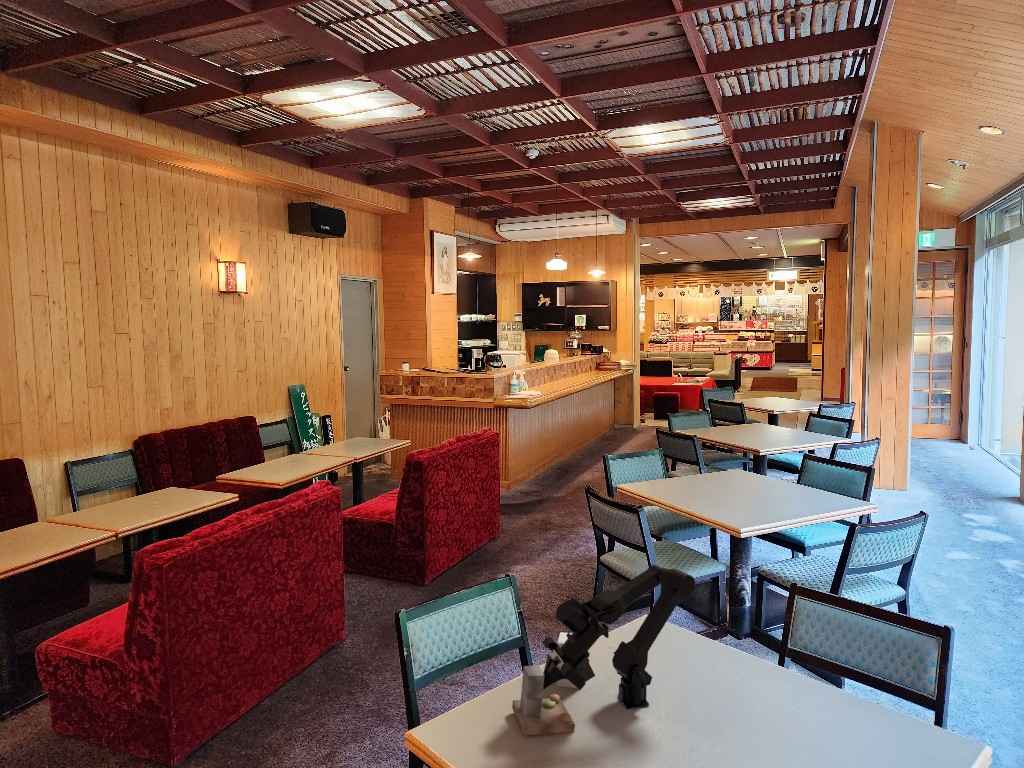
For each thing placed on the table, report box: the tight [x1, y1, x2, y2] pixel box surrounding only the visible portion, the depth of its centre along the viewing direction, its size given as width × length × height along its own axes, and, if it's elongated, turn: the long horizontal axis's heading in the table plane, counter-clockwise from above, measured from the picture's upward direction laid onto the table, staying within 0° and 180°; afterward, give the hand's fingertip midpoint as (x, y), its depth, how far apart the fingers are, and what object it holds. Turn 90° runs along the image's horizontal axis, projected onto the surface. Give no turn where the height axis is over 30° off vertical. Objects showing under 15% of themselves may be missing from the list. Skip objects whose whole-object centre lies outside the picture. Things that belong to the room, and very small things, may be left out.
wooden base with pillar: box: [511, 665, 576, 736], centre depth 168 cm, size 13×12×13 cm
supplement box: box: [555, 631, 578, 689], centre depth 188 cm, size 7×7×13 cm
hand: (541, 687), depth 168 cm, fingers closed, pressing on wooden base with pillar
